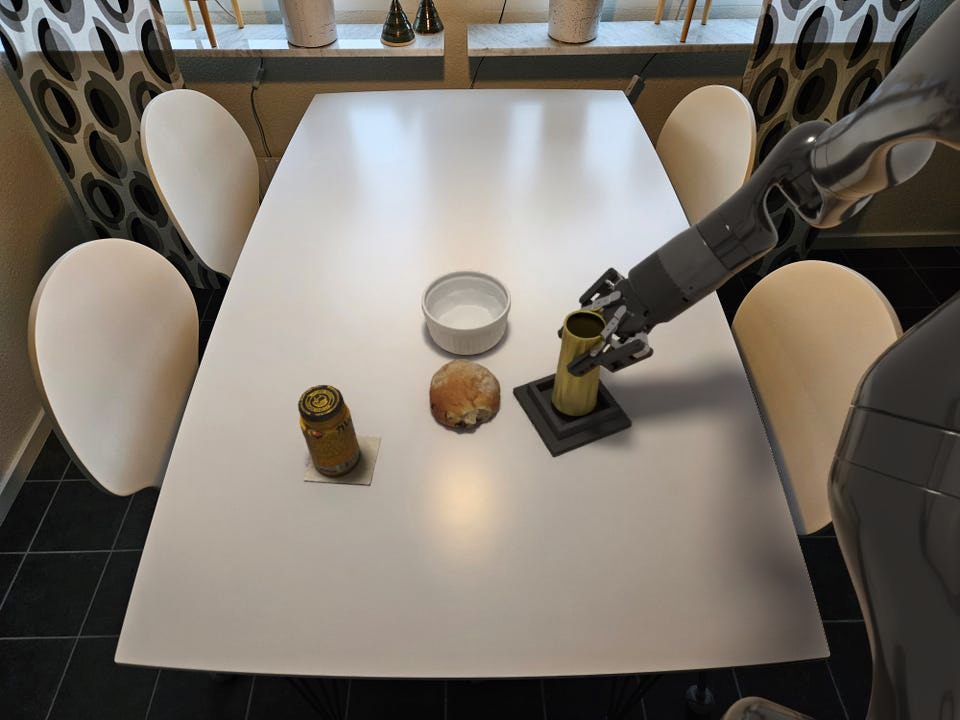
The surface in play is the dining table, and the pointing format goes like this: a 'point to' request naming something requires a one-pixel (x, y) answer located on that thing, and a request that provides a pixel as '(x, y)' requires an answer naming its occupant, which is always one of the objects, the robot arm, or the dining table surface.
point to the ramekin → (466, 310)
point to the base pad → (566, 429)
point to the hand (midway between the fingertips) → (566, 354)
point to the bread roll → (464, 394)
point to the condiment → (334, 439)
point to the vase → (576, 339)
